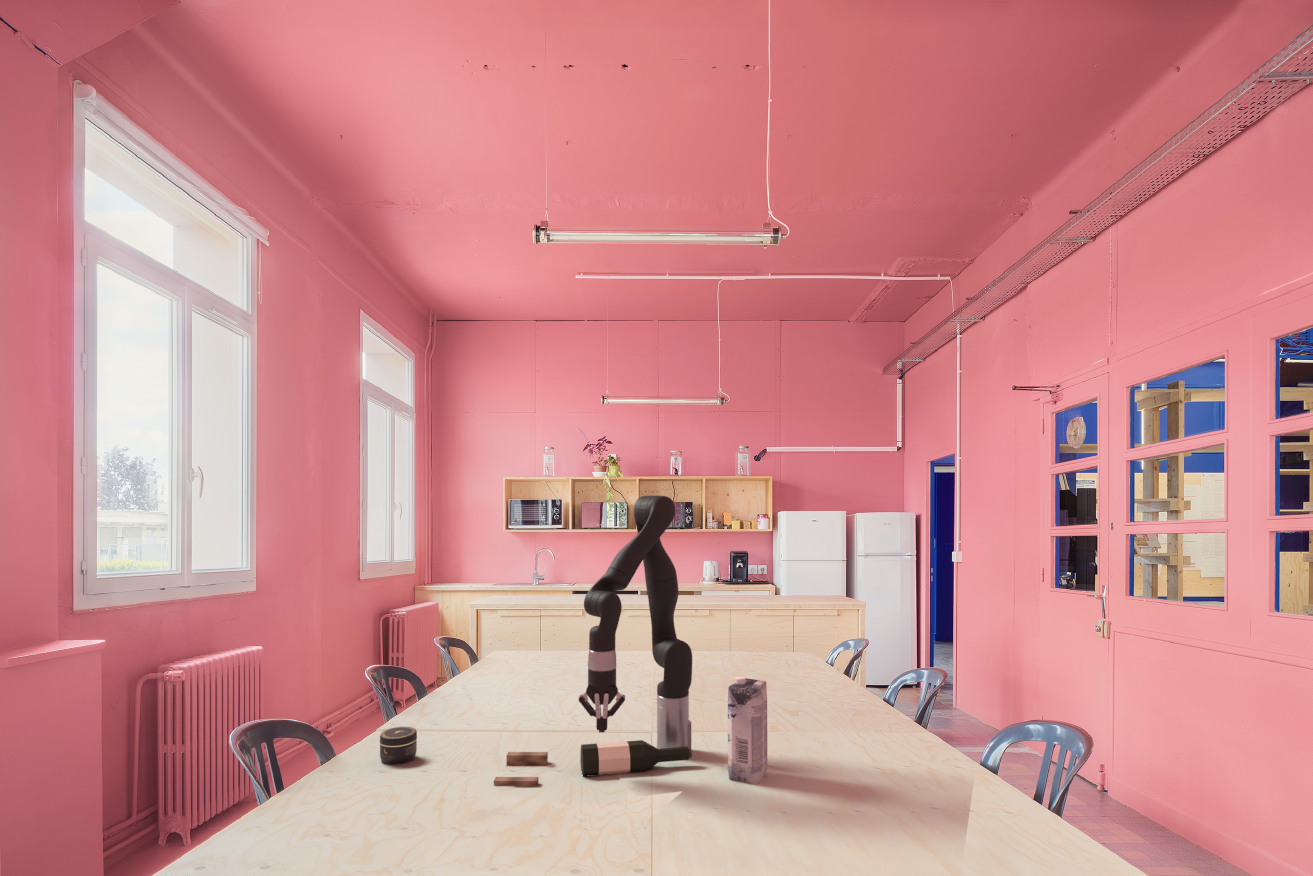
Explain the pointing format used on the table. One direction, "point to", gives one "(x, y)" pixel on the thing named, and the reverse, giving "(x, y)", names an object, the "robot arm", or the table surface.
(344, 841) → the table surface
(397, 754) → the jar
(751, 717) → the juice carton
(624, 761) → the wine bottle
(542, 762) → the u rest
